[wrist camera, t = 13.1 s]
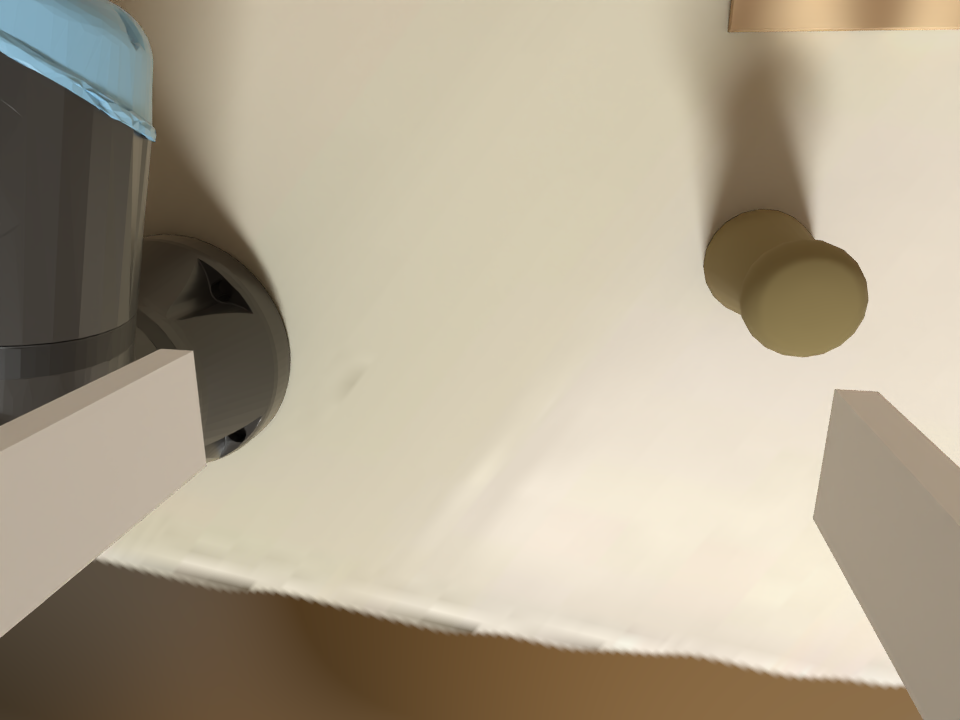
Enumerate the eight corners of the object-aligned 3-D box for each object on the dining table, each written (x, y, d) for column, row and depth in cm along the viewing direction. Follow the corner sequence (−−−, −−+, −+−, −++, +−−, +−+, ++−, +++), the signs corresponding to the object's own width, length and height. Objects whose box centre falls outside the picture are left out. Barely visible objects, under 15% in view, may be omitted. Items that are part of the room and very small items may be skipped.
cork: (748, 187, 39) (799, 206, 29) (839, 246, 39) (924, 286, 29) (681, 279, 41) (707, 327, 31) (769, 334, 41) (824, 401, 31)
